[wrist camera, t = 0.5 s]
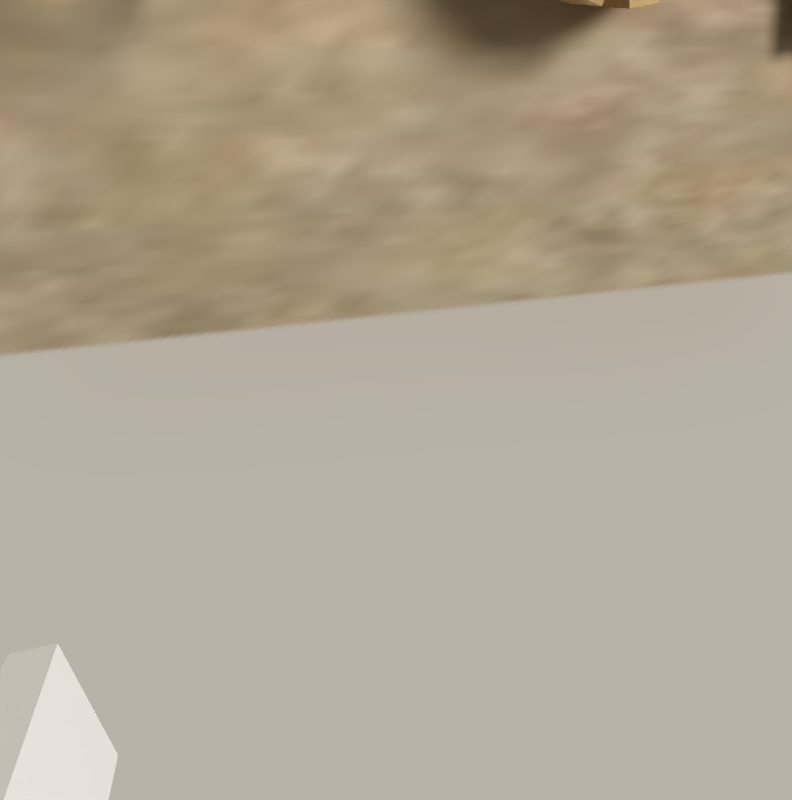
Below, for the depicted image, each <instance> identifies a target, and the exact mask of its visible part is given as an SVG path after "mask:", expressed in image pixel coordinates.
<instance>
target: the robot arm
mask: <svg viewBox="0 0 792 800" xmlns="http://www.w3.org/2000/svg"><path fill="white" fill-rule="evenodd" d="M117 757H118V755H117V753H116V751H115V749H114V747H113V746H112V743H111V742H110V740H109V738H108V736H107V734H106V732H105V730H104V729H103V727H102V725H101V723H100V721H99V720H98V718H97V716H96V714H95V712H94V710H93V708H92V706H91V704H90V703H89V701H88V699H87V697H86V695H85V693H84V691H83V690H82V688H81V686H80V684H79V682H78V680H77V678H76V677H75V675H74V673H73V671H72V669H71V667H70V665H69V664H68V662H67V660H66V659H65V656H64V655H63V652H62V651H61V649H60V647H59V645H58V643H57V644H52V645H48V646H43V647H38V648H33V649H29V650H24V651H19V652H14V653H9V654H8V655H7V657H6V660H5V662H4V664H3V667H2V669H1V672H0V800H108V799H109V794H110V790H111V785H112V781H113V776H114V771H115V767H116V762H117Z"/></svg>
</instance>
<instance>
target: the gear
mask: <svg viewBox="0 0 792 800" xmlns="http://www.w3.org/2000/svg"><path fill="white" fill-rule="evenodd" d="M559 1H561V2H563V3H566V4H580V5H591V6H600V7H614V8H628V9H630V8H635V7H640V6H645V5H649V4H654V3H659V0H559Z"/></svg>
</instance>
